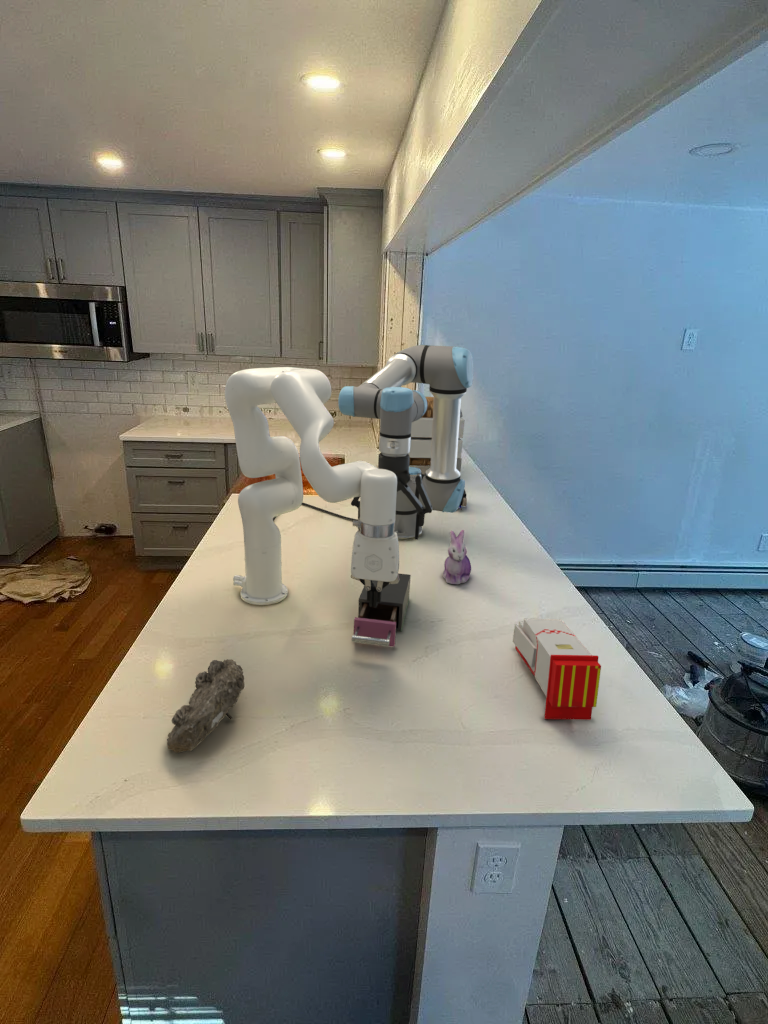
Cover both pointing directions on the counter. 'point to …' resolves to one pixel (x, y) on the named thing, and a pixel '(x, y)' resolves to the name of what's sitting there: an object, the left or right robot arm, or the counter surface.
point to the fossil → (206, 705)
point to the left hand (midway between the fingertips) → (373, 604)
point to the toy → (559, 667)
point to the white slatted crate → (429, 438)
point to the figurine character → (463, 500)
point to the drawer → (376, 625)
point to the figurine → (457, 560)
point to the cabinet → (392, 597)
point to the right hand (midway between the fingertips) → (390, 534)
